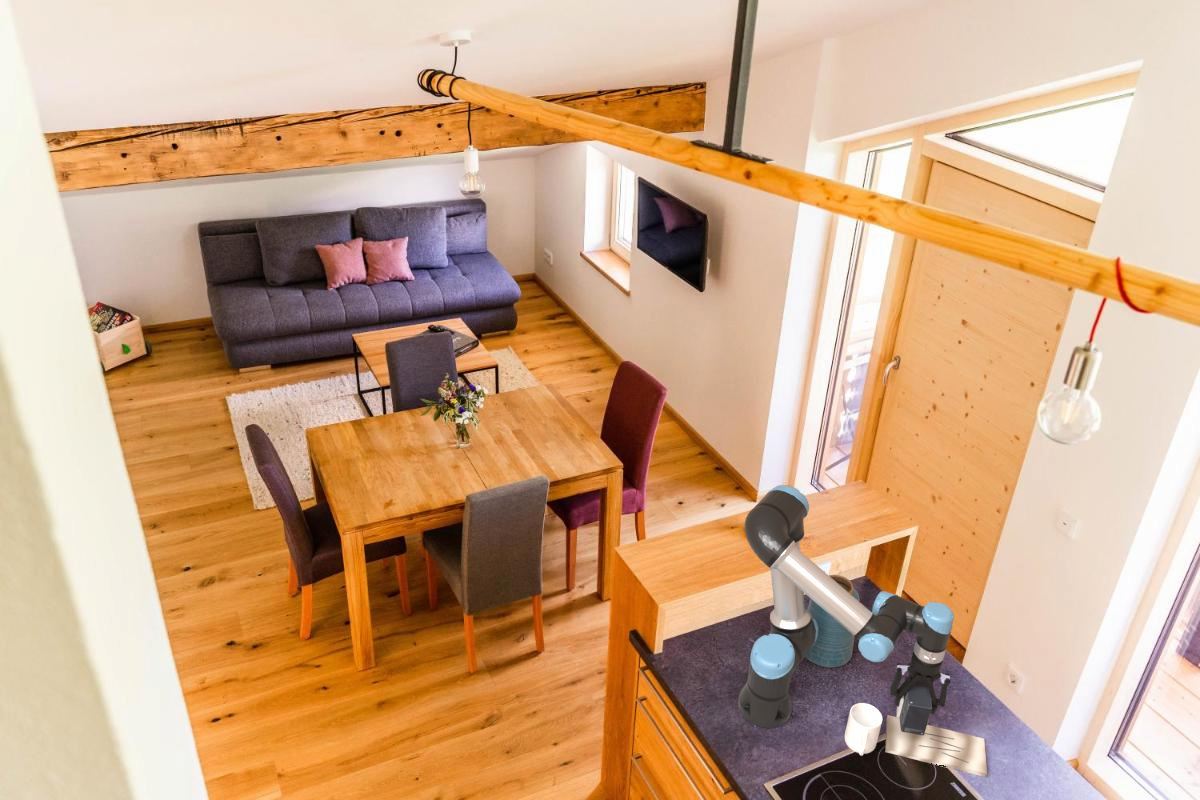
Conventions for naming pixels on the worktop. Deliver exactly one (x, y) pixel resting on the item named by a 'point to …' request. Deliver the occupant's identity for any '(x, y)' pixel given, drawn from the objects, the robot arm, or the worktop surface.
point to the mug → (863, 728)
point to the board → (938, 747)
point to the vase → (831, 633)
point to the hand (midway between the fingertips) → (911, 716)
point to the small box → (915, 709)
